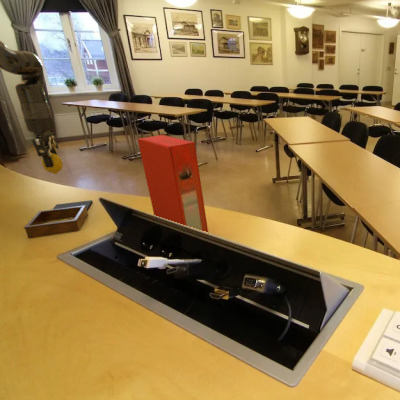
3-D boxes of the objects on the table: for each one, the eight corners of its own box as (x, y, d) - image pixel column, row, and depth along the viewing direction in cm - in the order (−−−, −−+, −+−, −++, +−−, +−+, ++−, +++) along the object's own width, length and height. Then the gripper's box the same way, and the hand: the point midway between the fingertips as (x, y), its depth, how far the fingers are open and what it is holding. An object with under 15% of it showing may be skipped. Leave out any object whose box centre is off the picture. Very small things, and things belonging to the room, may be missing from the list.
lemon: (41, 175, 113) (34, 153, 110) (57, 171, 118) (50, 149, 115) (54, 177, 112) (47, 154, 109) (69, 172, 117) (62, 151, 114)
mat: (49, 216, 118) (48, 214, 118) (57, 206, 127) (56, 204, 126) (87, 211, 123) (86, 209, 122) (92, 202, 131) (92, 200, 131)
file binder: (186, 251, 96) (168, 146, 84) (157, 234, 106) (137, 138, 94) (209, 241, 102) (195, 141, 90) (180, 226, 112) (163, 134, 100)
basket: (27, 238, 103) (23, 227, 102) (42, 220, 115) (39, 211, 114) (79, 230, 108) (76, 220, 107) (88, 214, 120) (85, 205, 119)
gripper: (31, 114, 112) (46, 160, 118) (14, 119, 100) (32, 171, 106) (58, 113, 115) (71, 159, 121) (44, 118, 103) (59, 169, 109)
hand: (52, 164), depth 114 cm, fingers closed on lemon, 5 cm apart
